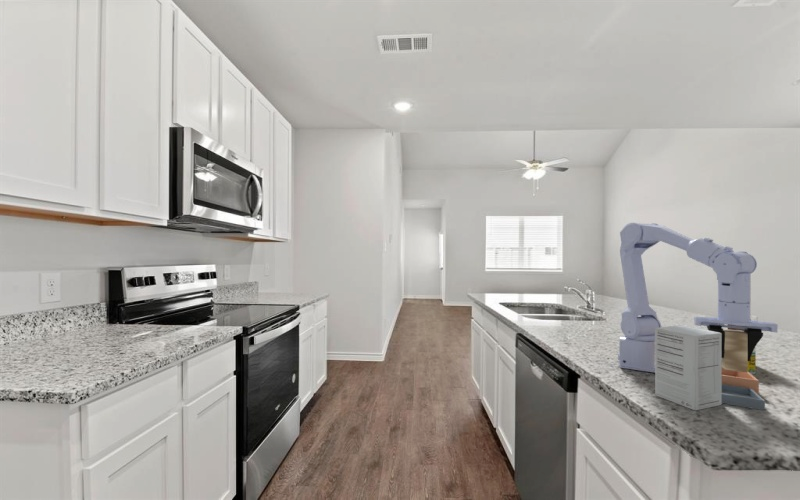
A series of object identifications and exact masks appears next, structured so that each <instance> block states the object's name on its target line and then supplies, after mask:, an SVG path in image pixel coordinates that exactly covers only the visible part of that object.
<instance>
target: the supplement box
mask: <svg viewBox="0 0 800 500" xmlns="http://www.w3.org/2000/svg"><path fill="white" fill-rule="evenodd" d="M721 359H722V334H721V333H719V332H714V331H709V330H708V329H703V328H697V327H692V326H688V325H680V324H679V325H670V326H668V325H667V326H661V327H659V328H655V373H654V378H655V379H654V381H655V382H654V383H655V384H654V386H655V387H654V388H655V389H654V390H655V391H654V392H655V393H654V394H655V396H657V397H658V398H662V399H664V400H667V401H670V402H671V403H675V404H677V405H679V406H683V407H684V408H688V409H691V410H692V411H695V412H697V411H700V410H704V409H709V408H712V407H713V408H714V407H718V406H722V404H723V403H722V380H721V379H722V375H721V374H722V373H721V372H722V371H721V370H722V367H721Z"/></svg>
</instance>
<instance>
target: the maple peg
mask: <svg viewBox="0 0 800 500" xmlns="http://www.w3.org/2000/svg"><path fill="white" fill-rule="evenodd" d="M723 331H724V332H725V335H724V358H722V359H721V366H722V367H723V368H724V369H725V370H733V371H740V372H748V334H747V333H745V332H744V331H741V330H730V329H728V328H723Z"/></svg>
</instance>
